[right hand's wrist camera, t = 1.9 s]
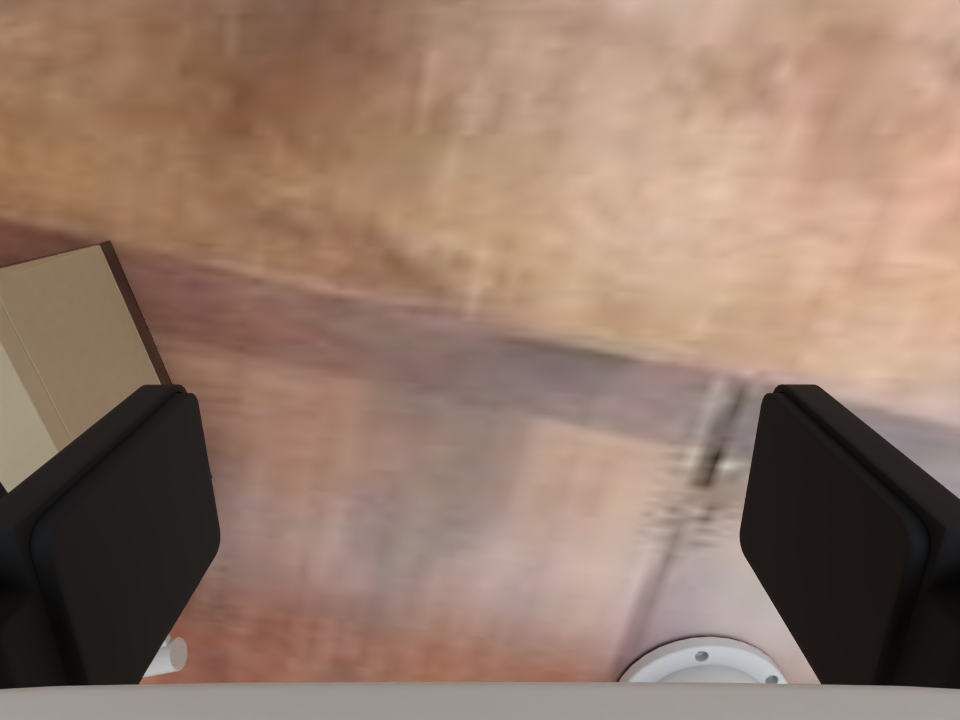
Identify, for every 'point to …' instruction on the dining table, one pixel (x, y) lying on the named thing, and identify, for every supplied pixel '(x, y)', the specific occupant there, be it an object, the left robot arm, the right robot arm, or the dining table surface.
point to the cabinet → (66, 353)
